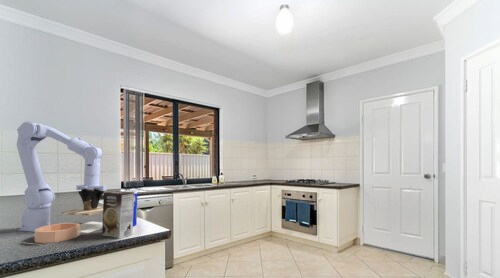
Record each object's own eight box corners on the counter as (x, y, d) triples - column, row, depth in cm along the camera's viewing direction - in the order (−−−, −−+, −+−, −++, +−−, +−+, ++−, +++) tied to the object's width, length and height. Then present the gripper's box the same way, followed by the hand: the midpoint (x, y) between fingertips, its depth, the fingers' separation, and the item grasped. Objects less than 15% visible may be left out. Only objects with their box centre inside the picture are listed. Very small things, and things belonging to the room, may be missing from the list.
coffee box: (100, 236, 97) (102, 192, 98) (115, 232, 103) (117, 190, 104) (119, 239, 93) (120, 193, 95) (133, 234, 99) (134, 191, 101)
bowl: (25, 242, 91) (25, 230, 91) (61, 232, 103) (62, 221, 103) (52, 245, 87) (53, 233, 87) (87, 235, 99) (88, 224, 99)
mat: (58, 231, 105) (58, 229, 105) (91, 222, 119) (91, 221, 119) (87, 234, 100) (88, 232, 100) (118, 224, 115) (118, 223, 115)
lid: (61, 214, 106) (62, 203, 106) (91, 208, 119) (92, 198, 119) (88, 215, 102) (89, 204, 102) (116, 209, 115) (117, 199, 115)
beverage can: (131, 228, 108) (132, 191, 109) (120, 228, 109) (121, 191, 110) (139, 225, 113) (140, 190, 114) (128, 225, 114) (129, 190, 115)
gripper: (70, 175, 110) (68, 208, 109) (97, 175, 106) (96, 210, 104) (85, 174, 117) (83, 205, 115) (111, 174, 112) (110, 207, 111)
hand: (90, 207), depth 110 cm, fingers closed on lid, 3 cm apart
